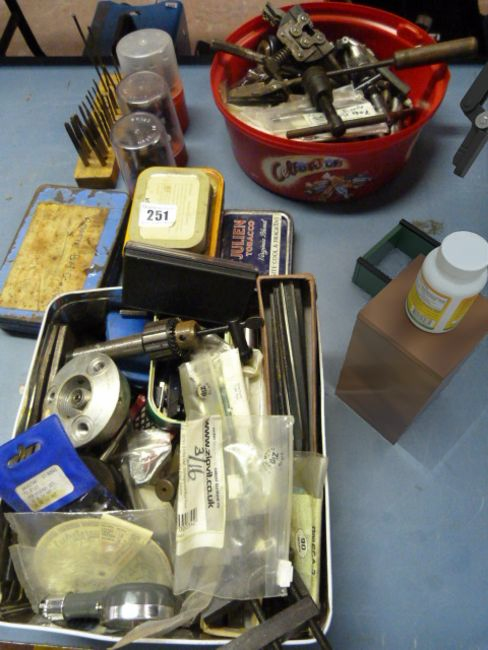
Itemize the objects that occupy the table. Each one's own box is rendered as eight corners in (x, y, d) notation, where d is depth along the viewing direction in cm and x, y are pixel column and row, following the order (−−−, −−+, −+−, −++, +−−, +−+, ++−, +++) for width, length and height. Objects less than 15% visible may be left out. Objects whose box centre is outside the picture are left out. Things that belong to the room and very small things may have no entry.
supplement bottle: (406, 333, 48) (434, 275, 40) (402, 286, 51) (429, 222, 42) (464, 336, 48) (505, 279, 39) (458, 289, 50) (495, 225, 42)
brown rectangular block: (440, 394, 68) (506, 310, 49) (393, 446, 65) (444, 378, 46) (381, 347, 72) (420, 252, 53) (334, 394, 69) (358, 312, 50)
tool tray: (451, 280, 77) (463, 257, 72) (407, 323, 73) (417, 303, 69) (394, 241, 81) (402, 217, 76) (351, 281, 77) (356, 259, 73)
